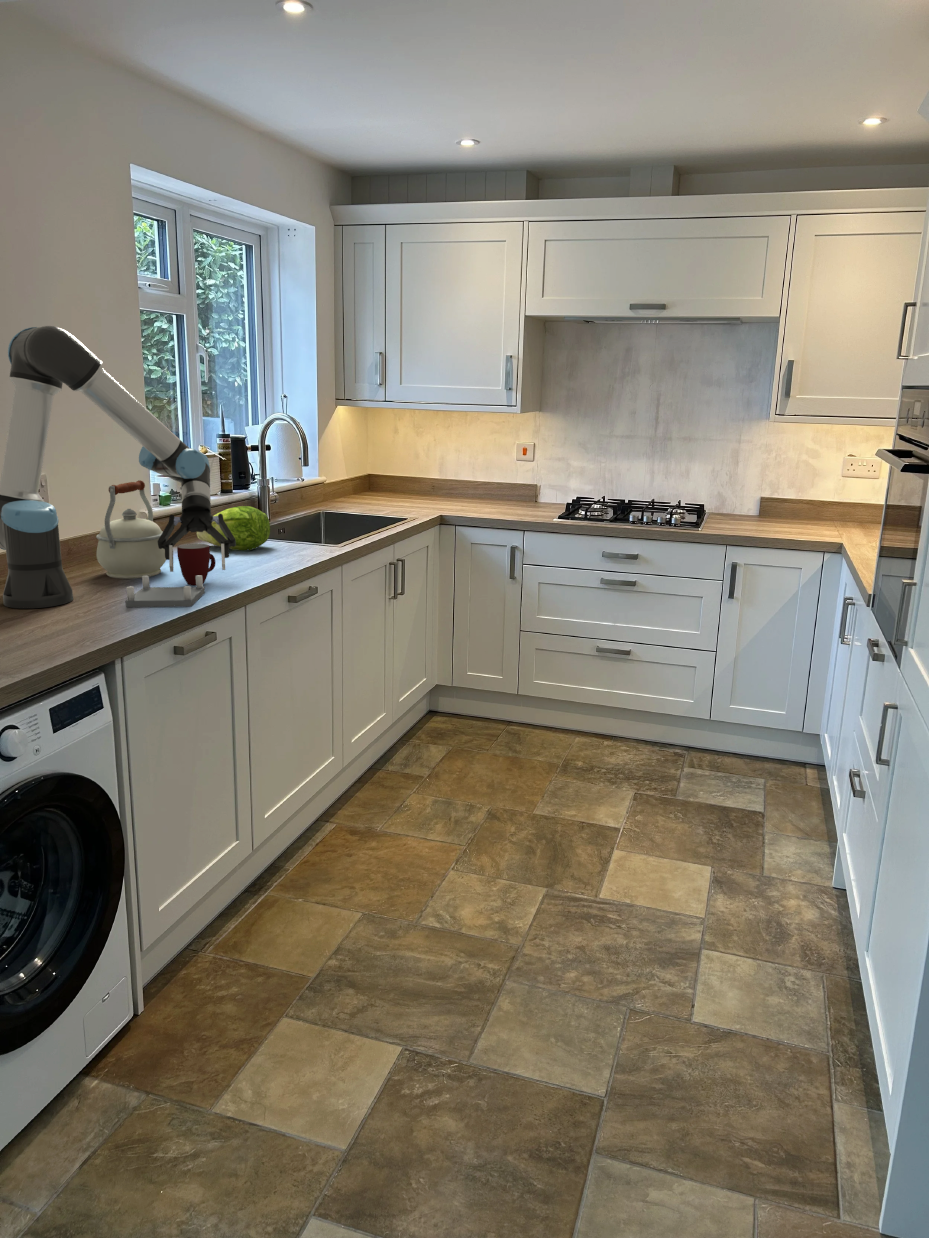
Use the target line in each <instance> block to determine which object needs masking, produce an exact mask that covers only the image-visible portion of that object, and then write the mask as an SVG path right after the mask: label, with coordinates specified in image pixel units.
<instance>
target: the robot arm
mask: <svg viewBox="0 0 929 1238" xmlns="http://www.w3.org/2000/svg"><path fill="white" fill-rule="evenodd" d="M7 357H8V360H9V363H10V371H9V372H10V373H9V377H8V378H9V380H10V382H12V385H13V386H14V392H13V396H12V397H13V398H12V403H11V404H12V405H11V412H10V417H9V423H8V424H9V425H8V431H7V437H6V442H5V443H6V444H5V451H4V454H3V455H4V456H3V464H2V468H1V469H2V470H1V476H0V549H1V550H4V551H5V553H6V554H5V555H6V562H7V576H6V580H5V585H4V589H3V592H2V601H3V605H4V606H5V607H7V608H12V609H41V608H43V609H44V608H51V607H55V606H61V605H65V604H68V603H70V602H72V601H74V591H73V588H72V586H71V584H70V582H69V580H68V577H67V575H66V573H65V571H64V569H63V563H62V553H61V551H62V550H61V541H60V540H61V539H60V530H59V516H58V512H57V509H56V507H55V506H54V505H53V504H51V503H49V502H46V501H45V500H44V499H43V498H42V496H41V495H40V493H39V491H40V490H39V489H40V483H41V478H42V477H41V476H42V472H43V471H42V470H43V465H44V459H45V452H46V446H47V440H48V439H47V438H48V434H49V428H50V427H49V426H50V421H51V415H52V409H53V402H54V397H55V395H57V394H58V393H60V392H62V389H63V384H64V385H66V386H67V387H68V388H70V389H71V390H72V392H80V393H81V394H82V395H84V396H85V397H86V398H87V399H88V400H90V401H91V402H92V403H93V404H94V405H96V406H97V407H98V408H99V409H100V410H101V411H102V412H104V413H105V414H106V416H108V417H109V418H110V419H111V420H113V422H115V423H116V424H117V425H118V426H119V427H121V428H122V429H123V430H124V431H125V432H126V433H127V434H129V435H130V436H131V437H132V438H133V439H134V440H136V441H137V443H139V444H140V445H141V446H142V447H141V449H140V451H139V454H138V462H139V465H140V466H141V467H143V468H145V469H147V470H148V471H152V472H153V473H157V474H159V475H161V476H164V477H166V478H169V479H172V480H174V481H175V482H178V483H180V485H181V516H175V515H174V514H170V515H169V518H168V522H167V525H166V526H165V527H164V529H163V531H162V532H163V533H162V534H161V536H160V538H159V540H158V547H159V549H162V548H163V549H165V558H166V561H168V563H169V567H168V568H169V572H171V573H173V572H174V546H175V545H177V544H178V542H179V541H180V540H181V539H182V538H183V537H184V536H187V535H188V533H189V532H190V533H197V532H203V531H206V532H207V533H208V534H210V535H211V536H212V537H213V538H214V539H215V540H216V541H218V542H219V543H220V544H221V547H220V552H221V570H222V571H225V570H226V559H228V558H229V557H230V549H229V548H230V547H231V546H232V547H235V546H236V541H235V538H234V536H233V534H232V533H231V531H230V530H229V528H228V527H227V525H226V523H225V522H224V520H223V514H218V513H217V514H218V516H214V515H212V504H211V502H212V499H211V468H210V462H209V460H210V459H209V458H208V457H207V455H206V454H204V453H203V452H201V451H199V450H196V449H195V448H193V447H192V448H191V447H189V446H188V445H187V444H186V443H185V442H184V441H182V440H181V439H180V438H179V437H178V436H177V435H176V434H175V433H173V432H172V431H171V430H170V429H169V428H168V427H167V426H166V425H165V424H163V422H162V421H160V420H159V419H158V418H157V417H156V416H155V415H154V414H153V413H151V412H150V410H148V409H147V408H146V406H144V405H143V404H142V403H141V402H140V401H138V399H136V398H135V396H133V395H132V394H131V393H130V392H129V391H128V390H127V389H126V388H125V387H124V386H123V385H121V384H120V382H118V381H117V380H116V379H115V378H114V377H113V376H112V375H110V374H109V373H108V372H107V371H106V370H105V369H104V368H103V361H102V360H101V359H99V358H98V357H97V356H96V354H94V353H93V352H92V351H91V350H90V349H89V348H87V346H85V345H84V344H83V343H82V342H81V341H80V340H79V339H78V338H77V337H76V336H75V335H73V334H71V333H70V332H69V331H67V330H65V329H63V328H61V327H58V326H55V325H44V326H39V327H37V326H32V327H27V328H24V329H22V330H20V331H19V332H18V333H16V334H15V335H14V336H13V337H12V338H11V340H10V341H9V344H8V347H7ZM213 521H215V522H216V524H217V525H219V526H220V528H221V530H222V532H223V533H224V535H225V536H226V538H227V539H226V538H225V537H224V536H223V535H221V534H220V533H219V532H218V531H217V530H216V529H215V528H214V527H213V526H212V522H213ZM179 523H180V526H179V528H178V529H177V530H176V531H174V530H175V526H176V527H177V525H178V524H179ZM173 531H174V533H173ZM172 533H173V534H172Z"/></svg>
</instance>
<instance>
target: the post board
mask: <svg viewBox="0 0 929 1238" xmlns="http://www.w3.org/2000/svg"><path fill="white" fill-rule="evenodd" d="M141 579H142V580H141V582H142V583H141V584H142V588H140V589H139V590H138V591H136V592H135V586H127V587H126V596H127V598H126V600H125V607H126V608H157V607H158V608H161V607H162V608H165V607H166V608H168V607H169V608H171V607H174V608H175V607H176V608H177V607H183V608H184V607H192V606H194V605H195V603H197V601H199V600H200V598H202V596H204V595H205V594H206V590H205V589H206V588H205V586H204V584H203V579H202V575H197V576H196V585H195V586H191V585H184V586H176V587H175V586H169V587H167V586H166V587H165V586H164V587H163V586H160V587H159V586H157V587H156V586H155V587H153V586H152V587H151V586H150V577H149V576H142V578H141Z"/></svg>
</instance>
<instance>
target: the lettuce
mask: <svg viewBox="0 0 929 1238" xmlns="http://www.w3.org/2000/svg"><path fill="white" fill-rule="evenodd" d="M218 514H223V520H224V522H225V523H226V525H227V527H228V528H229V530H230V531H231V533H232V534H233V536H234V538H235V541H236V546H235V547H232V546H231V547H230V548H229V550H233V551H252V550H255V549H258V548H259V547H261V546H262V545H264V544H265V543H266V542H267V541H268V539H269V537H270V535H271V524H270V523H271V522H270V520H269V517H268V515H267V514H266V513H265V512H263V511H261V510H260V509H258V508H257V507H256V508H255V507H253V506H251V505H250V506H249V505H248V506H247V505H246V506H245V505H244V506H243V505H241V506H235V507H230V508H226V509H224V510H222V511H220V512H217V513H216V514H214V515H213V516H218ZM212 526H213V527H214V528H215V529H216V530H217V531H218V532H219V533H220V534H221V535H223V536H224V537H225V538H226V536H225V535H224V533H223V532H222V530H221V528H220V526H219V525H217V524H216V522H215V521H213V522H212ZM196 537H197V539H199V540H200V541H203V542H206V543H208V544H211V545H213V546H216V547H220V548H221V544H220V543H219V542H218V541H216V540H215V539H214V538H213V537H212V536H211V535H210V534H208V533H207V532H206V531H203V532H196ZM226 539H227V538H226Z"/></svg>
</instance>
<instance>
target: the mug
mask: <svg viewBox="0 0 929 1238" xmlns="http://www.w3.org/2000/svg"><path fill="white" fill-rule="evenodd" d="M176 549H177V551H176V552H177V559H178V564H179V567H180V570H181V571H180V572H181V575H182V577H183V579H184V582H186V584H187V586H192V587H196V576H197V575H202V579H203V585H204V584H205V582H206V579H207V577H208V575H209V573H210V572H212V571H213V570H214V569H215V567H216V558H215V556H214V555H213V554H212V553H211V550H210V545H209V544H206V543H186V544H180V545H178V546H177V547H176Z"/></svg>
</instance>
